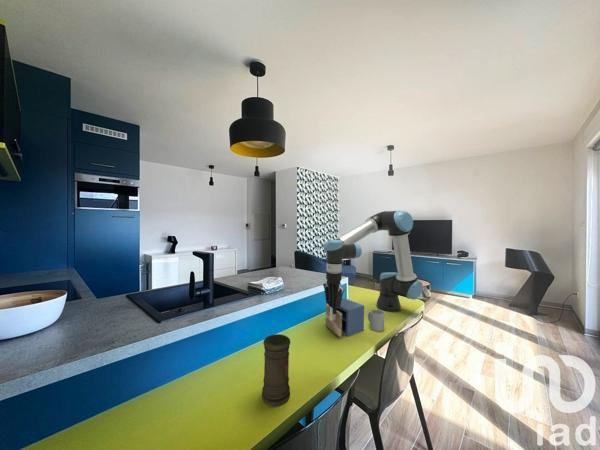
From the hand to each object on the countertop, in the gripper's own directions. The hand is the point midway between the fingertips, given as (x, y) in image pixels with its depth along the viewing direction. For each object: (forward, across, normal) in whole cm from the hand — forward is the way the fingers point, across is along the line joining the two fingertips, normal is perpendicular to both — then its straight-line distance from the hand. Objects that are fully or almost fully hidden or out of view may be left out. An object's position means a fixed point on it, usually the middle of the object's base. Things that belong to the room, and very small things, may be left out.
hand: (332, 319), depth 118 cm
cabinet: (+8, -2, +12) cm, 14 cm away
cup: (+8, +6, +26) cm, 28 cm away
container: (+8, +20, -43) cm, 48 cm away
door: (+7, -3, +3) cm, 8 cm away
